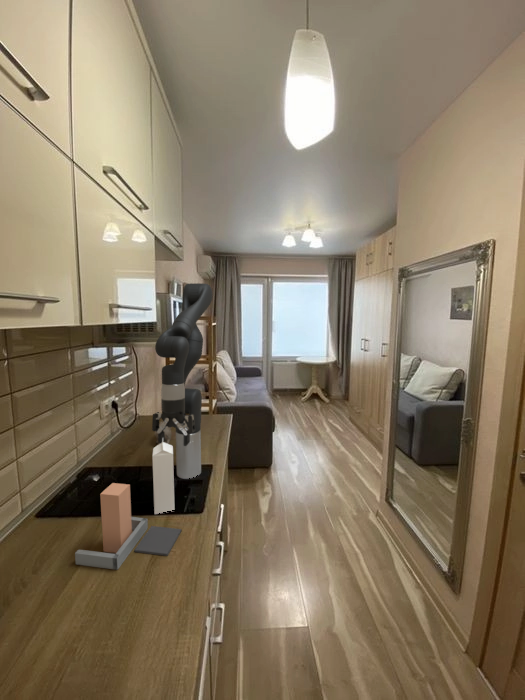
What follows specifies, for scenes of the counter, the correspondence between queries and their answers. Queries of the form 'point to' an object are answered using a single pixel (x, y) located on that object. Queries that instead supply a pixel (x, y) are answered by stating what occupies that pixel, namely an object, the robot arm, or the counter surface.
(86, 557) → the stall
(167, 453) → the milk
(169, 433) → the rhinoceros figurine
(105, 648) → the counter surface
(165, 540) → the mat
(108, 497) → the post
